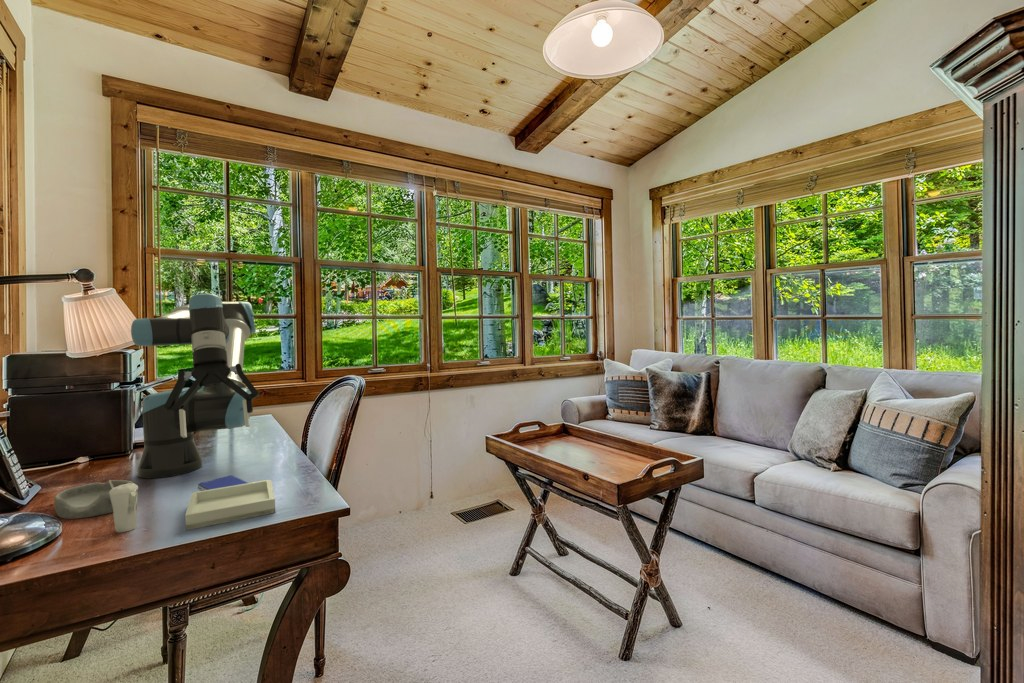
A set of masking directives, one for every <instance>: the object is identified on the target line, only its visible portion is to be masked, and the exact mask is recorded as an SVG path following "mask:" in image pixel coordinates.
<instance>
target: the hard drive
mask: <svg viewBox="0 0 1024 683" xmlns="http://www.w3.org/2000/svg"><path fill="white" fill-rule="evenodd" d="M246 483H249V482H247V481H245V480H243V479H241V478H239V477H237V476H234V475H227V476H222V477H217V478H214V479H209V480H206V481H202V482H199V483H198V484H197V487H198V488H199V489H201V490H202V491H204V490H210V489H216V488H222V487H228V486H234V485H240V484H246Z"/></svg>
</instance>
